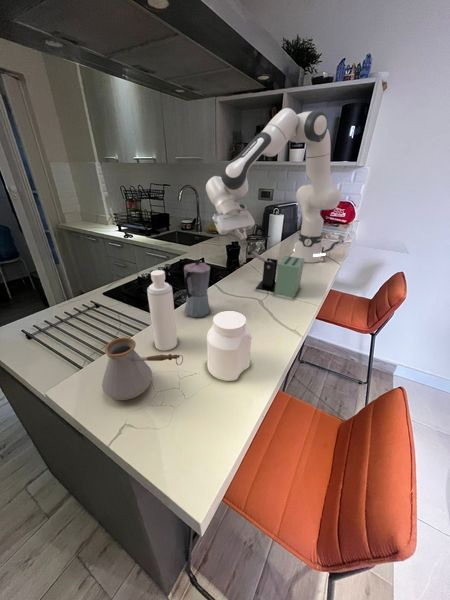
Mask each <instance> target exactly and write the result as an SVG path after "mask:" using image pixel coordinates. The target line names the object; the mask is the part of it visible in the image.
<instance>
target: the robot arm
mask: <svg viewBox="0 0 450 600" xmlns="http://www.w3.org/2000/svg"><path fill="white" fill-rule="evenodd" d="M328 127H329V122H328V116H327V115H326V113H325V112H324V111H321V110H312V111H311V110H309V111H303V112H301V113H298V114H297V113H296V112H295V110H293V109H292V108H289V107H285V108H282V109H281V110H280V111H278V113H276V114H275V115H274V116H273V117H272V118H271V119H270V121H269V122H268V123H267V124H266V126H265V127H264V128H263V130H261V131H260V133H257V135H255V136H254V137H253V138H252V139H251V141H250V142H249V143H248V144H247V145H246V146H245V147H244V148H243V149H242V150H241V151H240V153H239V154H238V155H237V156H236V157H234V158H233V159H231V160H229V161H228V162H226V163H225V165H223V167H222V169H221V171H220V176H218V175H214V176H212V177H211V178H209V179H208V181H207V182H206V184H205V191H206V194H207V197H208V199H209V201H210V202H211V204H212V205H213V206H214V208H215V210H216V213H214V214H212V218H211V219H212V221H213V222H214V226H215V228H216V230H217V232H218V234H219V235H221V236H224V235H229V234H233V233H234V235H235V236H237V237H238V238H239V240H240V241H243V240H246V239H247V238H248V236H247V230H251V229H252V228H253V227H254V226H255V224H256V222H255V219H254V217H253V215H252V214H251V213H250V211H249V210H247V209H248V207H247V206H246V204H242V203H239V202H236V201H238V200H240V199H243V198H244V197H245V196H247V194H248V193H249V189H250V186H249V180H248V172H249V169H250V168H251V167H252V166H253V165H254V163H256V161H257V160H258V159H259V158H260V157H261V156H262V155H264V156H265V157H269V158H270V157H275V156H277V155H278V154H279V153H280V152H281V151H282V150H283V148H284V147H285V146H286V145H287V144H288V142H289V143H298V144H301V143H304V144H305V175H306V177H307V178H308V179H309V180H310V182H311V184H304V185H301V186H300V187H299V188H298V189H297V191H296V193H295V194H296V195H295V199H296V201H297V203H298V205H299V207H300V212H301V227H300V233H299V236H298V240H297V242H295V244H294V248H293V252H292V253H290V255H289V256H292V257H298V258H304V263H309V264H311V263H312V264H313V263H321V262H324V261H325V260H324V256H326V252H328V251H330V250H331V249H332V248H334V246H335V244H337V243H340V242H341V243H344V240H342V241H340V240H337V241H335V242H333V243H332V245H331V246H330V248H327V249H325V247H324V246H323V245H322V243H321V242H322V238H323V235H322V232H323V229H324V228H323V227H324V218H323V217H322V215H321V213H320V210H321V211H330V210H334V209H336V208H337V207H338V206H339V205H340V202H341V200H342V194H341V191H340V189H338V188H337V186H336V185H335V183H334V180H333V177H332V172H331V153H332V152H331V149H332V147H331V146H332V145H331V144H332V143H331V136H330V135H331V134H330V130H329V129H328ZM324 249H325V250H324ZM324 252H325V253H324Z"/></svg>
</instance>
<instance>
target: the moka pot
mask: <svg viewBox="0 0 450 600" xmlns="http://www.w3.org/2000/svg"><path fill="white" fill-rule="evenodd" d="M183 273H184V274H183V275H184V280H183V281H184V287H185V290H186V300H185V306H184V307H185V308H184V312H185V314H186V315H187V316H189V317H191V318H201V317H205V316H207V315H208V314H209V313H210V302H209V295H208V290H209V282H210V275H211V266H210V265H208V264H207V263H206V262H200V259H195V260H194V262H193V263H188V264H185V265H184V266H183Z"/></svg>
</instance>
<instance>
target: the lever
mask: <svg viewBox="0 0 450 600" xmlns="http://www.w3.org/2000/svg"><path fill="white" fill-rule="evenodd" d="M255 251H256V249H254V248H252V249H250V250H249V251H248V252H247V255H248V256H251V255H252V256H254V257H255V258H257V259H258V260H260V261H261V262H263V263H264V261H267V258H266V259H265V258H264V257H263V256H261V255H260V254H258V253H256V252H255ZM268 262H272V261H271V260H270V261H268Z"/></svg>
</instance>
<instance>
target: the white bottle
mask: <svg viewBox="0 0 450 600" xmlns="http://www.w3.org/2000/svg"><path fill="white" fill-rule="evenodd" d="M150 278H151V282H152V283H151V284H150V285H149V286H148V287H147V288H146V293H147V301H148V308H149V313H150V314H149V315H150V319H151V326H152V327H151V328H152V333H153V334H152V335H153V340H154V341H153V342H154V346H155V347H156V349H157V350H159V351H170V350H172V349H175V348H176V347H177V345H178V334H177V323H176V312H175V303H174V293H173V286H172V285H171V284H169V283H168V282H166V281H165V280H166V272H165V270H162V269H156V270H155V269H154V270H153V271H151V272H150Z"/></svg>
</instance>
